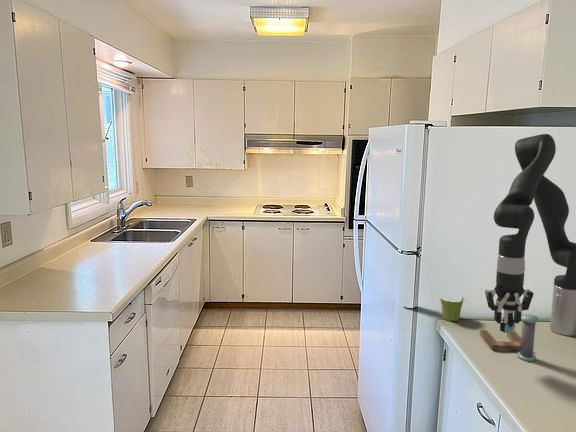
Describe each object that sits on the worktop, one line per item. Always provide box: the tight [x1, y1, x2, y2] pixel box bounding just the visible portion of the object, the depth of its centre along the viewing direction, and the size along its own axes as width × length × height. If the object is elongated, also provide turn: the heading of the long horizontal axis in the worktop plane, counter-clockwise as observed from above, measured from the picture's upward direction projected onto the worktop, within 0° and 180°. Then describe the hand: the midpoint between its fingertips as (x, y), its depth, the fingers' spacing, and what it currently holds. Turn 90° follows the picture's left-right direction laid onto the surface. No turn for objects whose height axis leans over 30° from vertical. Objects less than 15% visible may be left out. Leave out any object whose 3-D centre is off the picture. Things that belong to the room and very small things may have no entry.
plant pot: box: [438, 296, 465, 322], centre depth 172 cm, size 9×9×9 cm
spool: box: [517, 313, 539, 363], centre depth 140 cm, size 5×5×14 cm
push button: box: [499, 301, 519, 334], centre depth 135 cm, size 7×5×10 cm
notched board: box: [479, 329, 521, 352], centre depth 151 cm, size 12×12×2 cm
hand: (507, 322), depth 135 cm, fingers closed on push button, 5 cm apart
